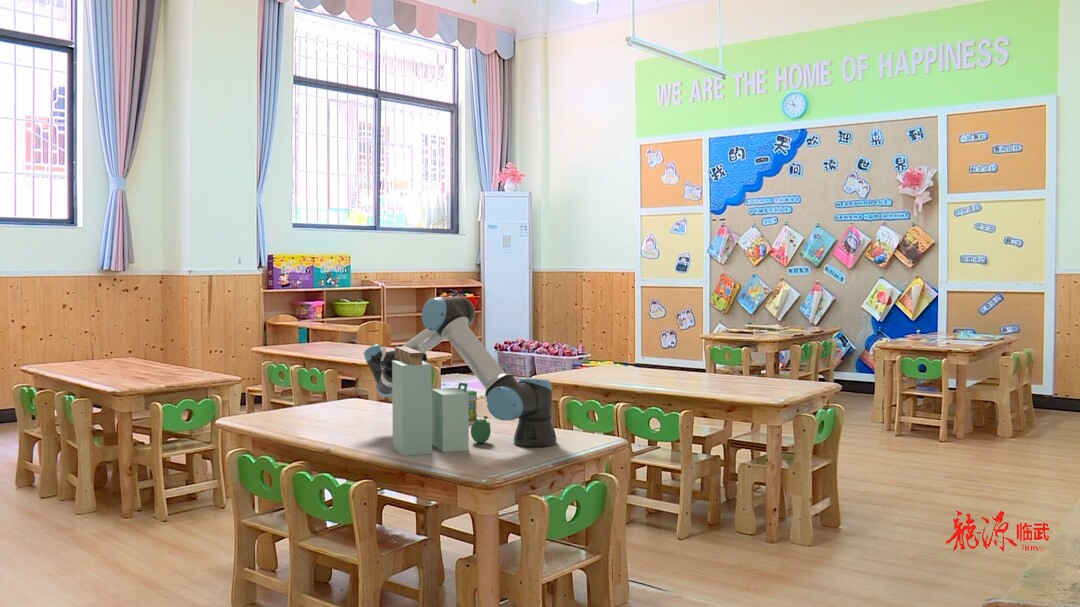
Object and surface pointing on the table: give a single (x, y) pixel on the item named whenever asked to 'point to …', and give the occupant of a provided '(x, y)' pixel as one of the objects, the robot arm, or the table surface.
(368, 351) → the robot arm
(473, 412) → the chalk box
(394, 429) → the step shelf
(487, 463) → the table surface
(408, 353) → the walnut rod
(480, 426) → the alien toy
